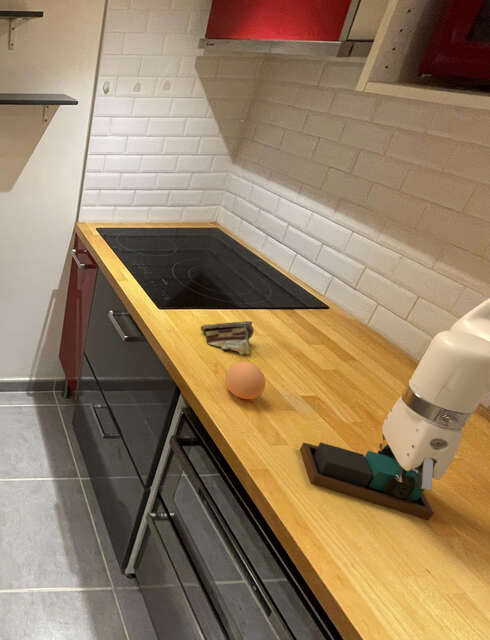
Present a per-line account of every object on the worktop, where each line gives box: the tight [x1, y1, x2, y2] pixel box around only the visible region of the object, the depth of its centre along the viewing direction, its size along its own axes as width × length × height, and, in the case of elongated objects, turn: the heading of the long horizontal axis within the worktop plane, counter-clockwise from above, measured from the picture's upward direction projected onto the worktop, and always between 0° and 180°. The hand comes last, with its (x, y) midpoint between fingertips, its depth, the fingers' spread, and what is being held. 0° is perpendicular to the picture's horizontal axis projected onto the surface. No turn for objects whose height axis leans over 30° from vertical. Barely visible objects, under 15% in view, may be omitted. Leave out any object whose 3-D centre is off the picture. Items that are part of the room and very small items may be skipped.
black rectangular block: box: [313, 442, 373, 488], centre depth 80 cm, size 6×5×4 cm
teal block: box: [364, 450, 425, 501], centre depth 78 cm, size 6×5×4 cm
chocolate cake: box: [200, 320, 255, 356], centre depth 115 cm, size 10×7×12 cm
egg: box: [224, 360, 266, 400], centre depth 98 cm, size 7×7×8 cm
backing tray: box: [299, 442, 435, 521], centre depth 80 cm, size 16×8×2 cm, turn 66°
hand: (388, 481), depth 78 cm, fingers closed on teal block, 4 cm apart
